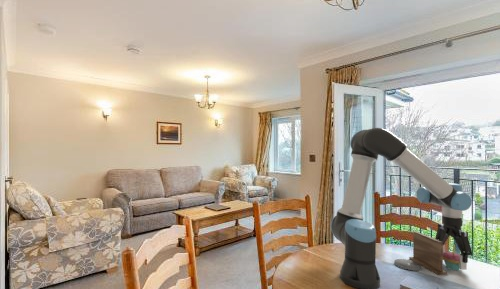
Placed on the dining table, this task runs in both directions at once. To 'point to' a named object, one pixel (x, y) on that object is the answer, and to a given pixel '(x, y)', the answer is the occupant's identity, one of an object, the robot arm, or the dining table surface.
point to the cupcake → (452, 259)
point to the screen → (428, 253)
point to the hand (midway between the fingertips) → (452, 264)
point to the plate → (408, 264)
